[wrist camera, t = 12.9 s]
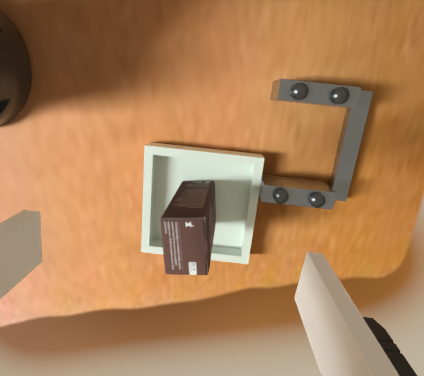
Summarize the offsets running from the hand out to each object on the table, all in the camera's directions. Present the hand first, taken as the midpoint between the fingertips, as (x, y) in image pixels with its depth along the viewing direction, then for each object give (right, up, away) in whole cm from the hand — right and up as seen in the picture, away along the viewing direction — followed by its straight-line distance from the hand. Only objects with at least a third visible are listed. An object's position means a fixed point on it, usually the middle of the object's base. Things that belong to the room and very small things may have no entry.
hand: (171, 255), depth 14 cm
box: (0, +2, +24) cm, 24 cm away
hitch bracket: (+14, +9, +21) cm, 27 cm away
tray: (+1, +2, +24) cm, 24 cm away
